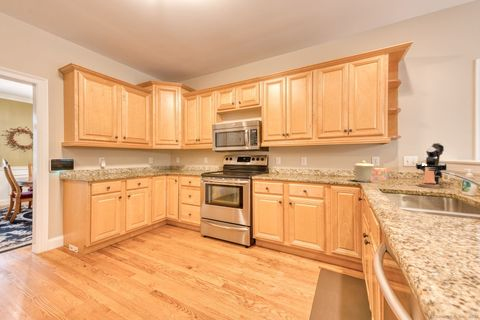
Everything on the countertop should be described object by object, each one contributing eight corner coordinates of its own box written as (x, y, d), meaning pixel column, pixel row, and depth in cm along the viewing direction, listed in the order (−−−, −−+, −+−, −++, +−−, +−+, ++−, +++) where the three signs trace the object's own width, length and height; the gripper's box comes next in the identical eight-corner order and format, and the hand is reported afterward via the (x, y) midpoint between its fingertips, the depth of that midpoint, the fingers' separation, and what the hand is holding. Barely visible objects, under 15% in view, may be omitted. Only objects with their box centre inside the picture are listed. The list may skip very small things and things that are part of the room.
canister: (378, 182, 199) (378, 160, 198) (359, 182, 199) (359, 160, 198) (367, 180, 217) (367, 160, 216) (349, 180, 217) (350, 160, 216)
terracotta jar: (424, 182, 177) (424, 170, 177) (435, 182, 171) (436, 170, 171) (422, 182, 172) (423, 170, 172) (434, 183, 166) (435, 171, 166)
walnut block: (421, 186, 180) (421, 182, 180) (440, 187, 171) (440, 184, 171) (418, 187, 173) (418, 184, 173) (437, 189, 163) (437, 185, 163)
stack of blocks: (365, 179, 223) (365, 168, 222) (363, 179, 229) (363, 168, 229) (387, 180, 218) (387, 168, 218) (384, 179, 224) (385, 168, 224)
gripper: (416, 153, 181) (413, 166, 174) (446, 153, 166) (444, 168, 160) (418, 162, 186) (415, 175, 179) (447, 162, 172) (445, 177, 165)
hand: (429, 173), depth 171 cm, fingers closed on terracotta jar, 6 cm apart
